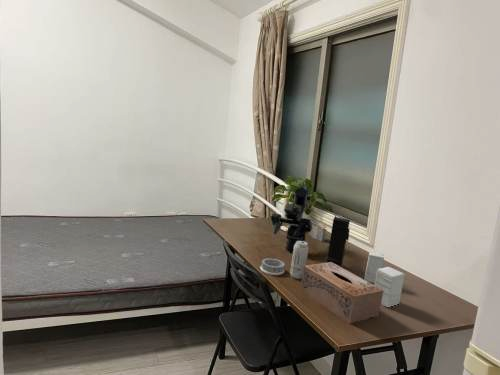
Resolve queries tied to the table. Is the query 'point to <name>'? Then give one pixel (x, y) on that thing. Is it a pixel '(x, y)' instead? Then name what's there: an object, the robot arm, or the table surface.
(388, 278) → the supplement box
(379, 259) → the skincare box
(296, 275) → the energy drink can
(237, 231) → the table surface
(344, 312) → the tissue box cover
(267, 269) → the dock
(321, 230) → the architectural model on board
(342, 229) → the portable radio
